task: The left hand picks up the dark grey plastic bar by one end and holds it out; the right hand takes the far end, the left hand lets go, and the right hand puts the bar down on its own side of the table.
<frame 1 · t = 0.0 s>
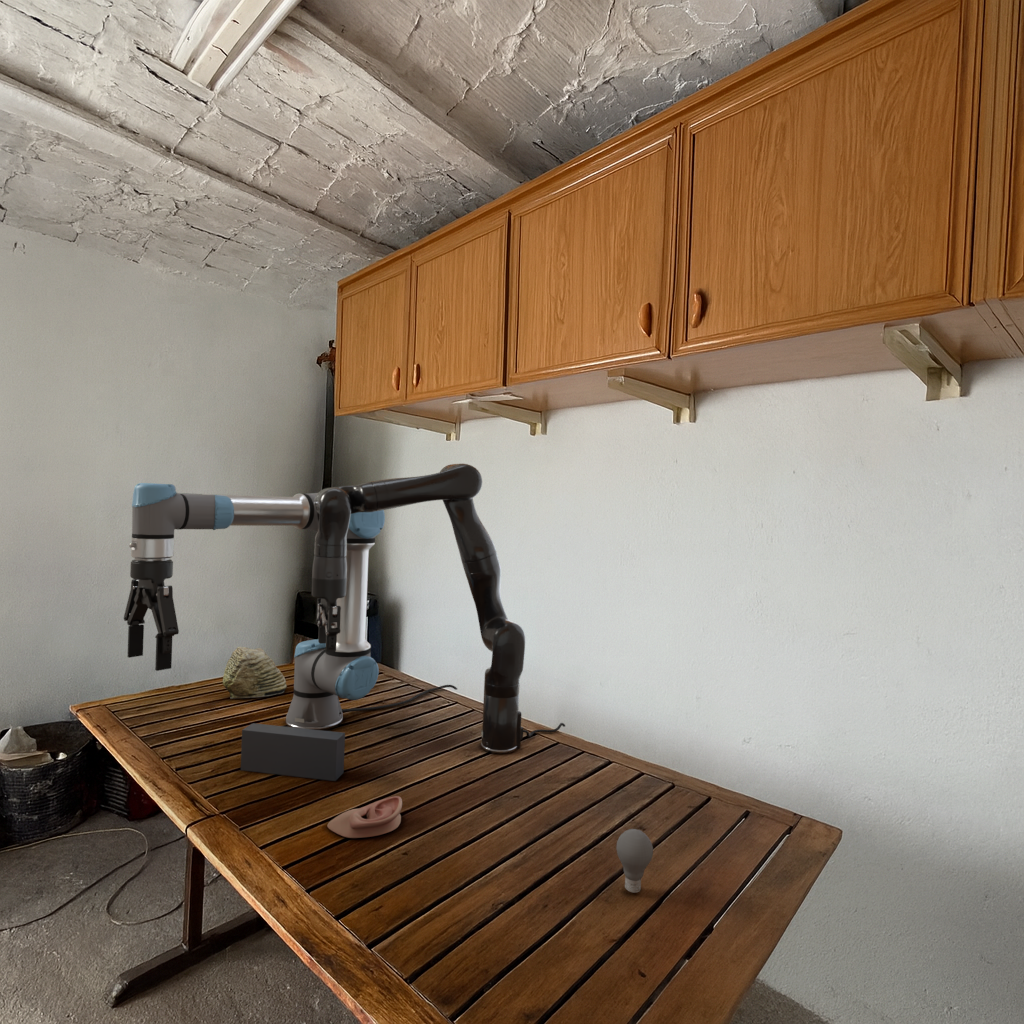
left hand: (148, 662, 129), 28 cm above the table, tool pointing down, fingers open, 13 cm apart
right hand: (326, 647, 143), 29 cm above the table, tool pointing down, fingers open, 8 cm apart
fossil: (254, 694, 198), on the table
bar: (292, 771, 145), on the table
light bulb: (632, 891, 106), on the table
anatomical model: (365, 824, 123), on the table
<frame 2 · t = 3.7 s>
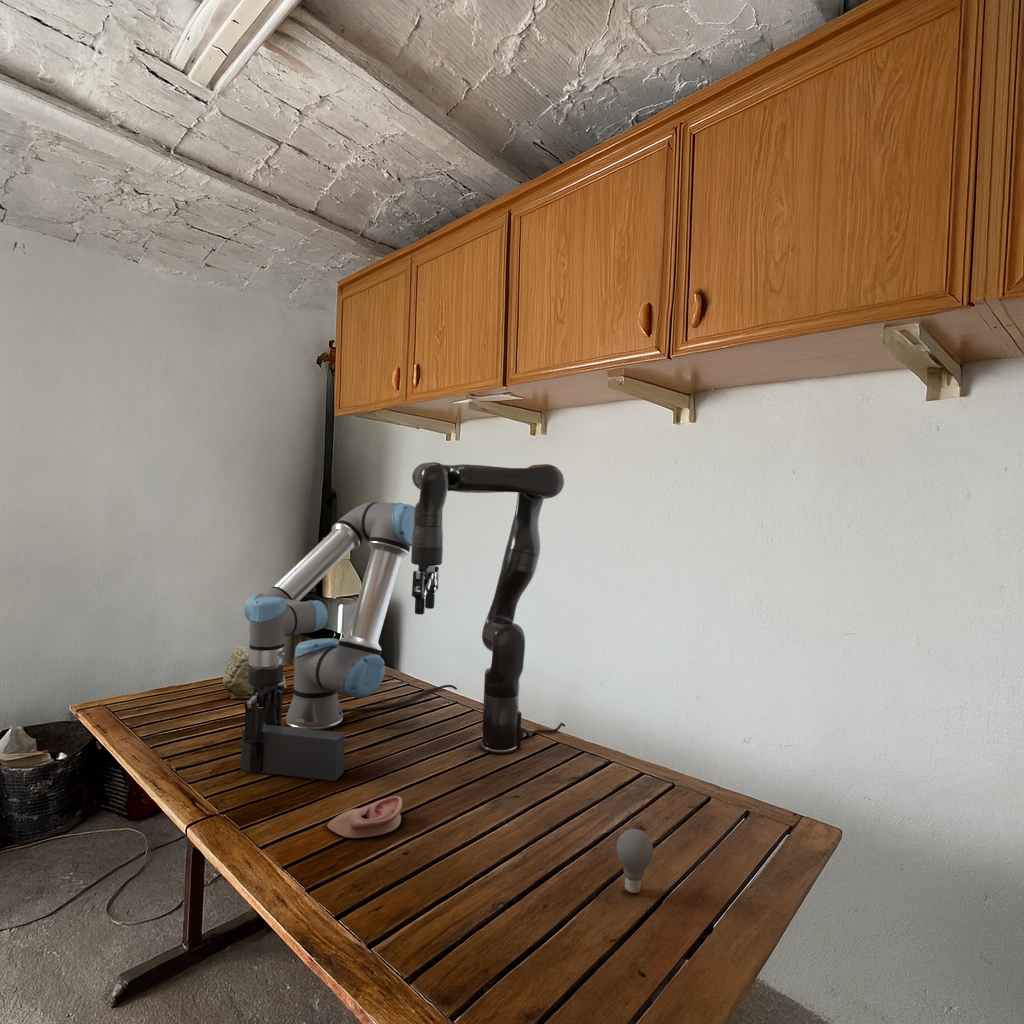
left hand: (262, 765, 146), 1 cm above the table, tool pointing down, fingers closed on bar, 4 cm apart
right hand: (424, 611, 154), 36 cm above the table, tool pointing down, fingers open, 8 cm apart
bar: (292, 771, 145), on the table, touching left hand
everything else where it was.
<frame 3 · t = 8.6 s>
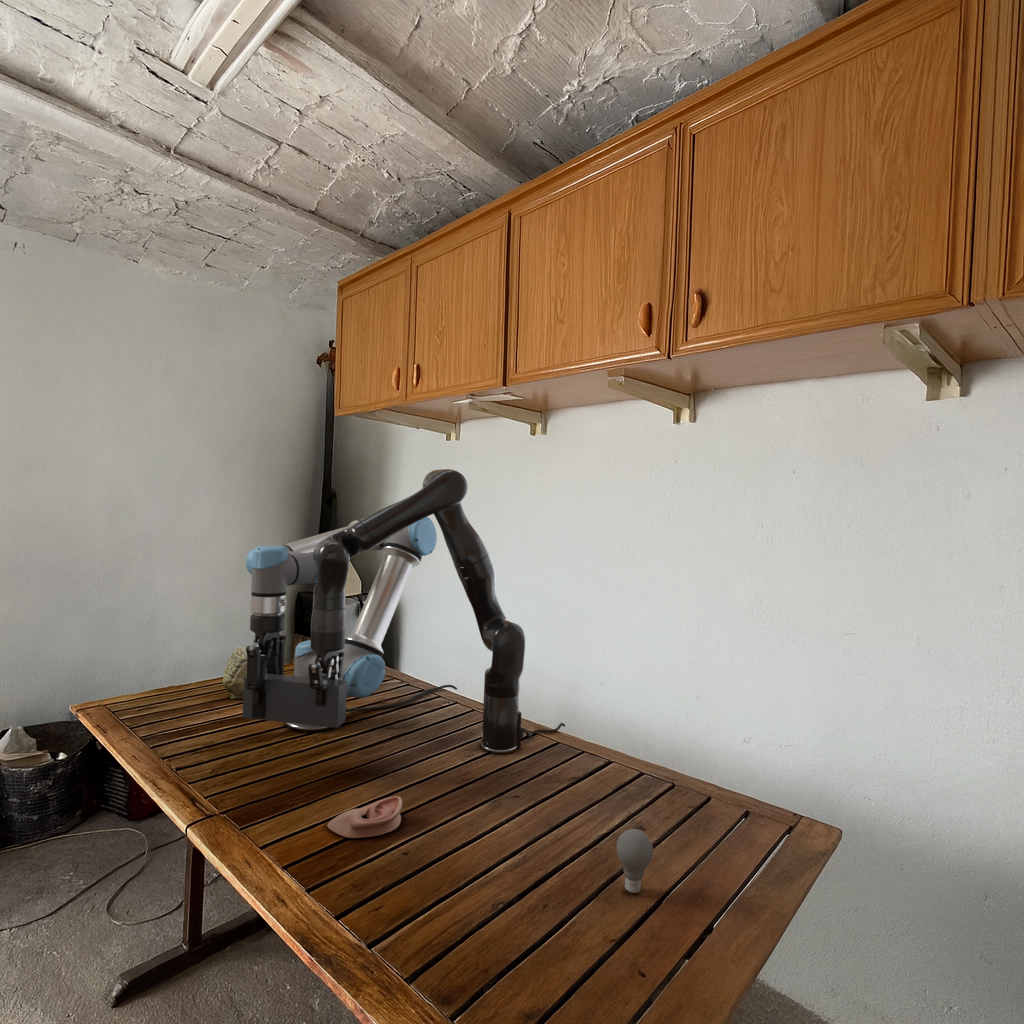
left hand: (264, 713, 146), 13 cm above the table, tool pointing down, fingers closed on bar, 4 cm apart
right hand: (325, 702, 144), 17 cm above the table, tool pointing down, fingers closed on bar, 4 cm apart
bar: (294, 719, 145), point 12 cm above the table, touching left hand, right hand
everything else where it was.
when the left hand's fingers open (13 cm above the table, at t = 9.4 s): bar stays where it is, held by the right hand.
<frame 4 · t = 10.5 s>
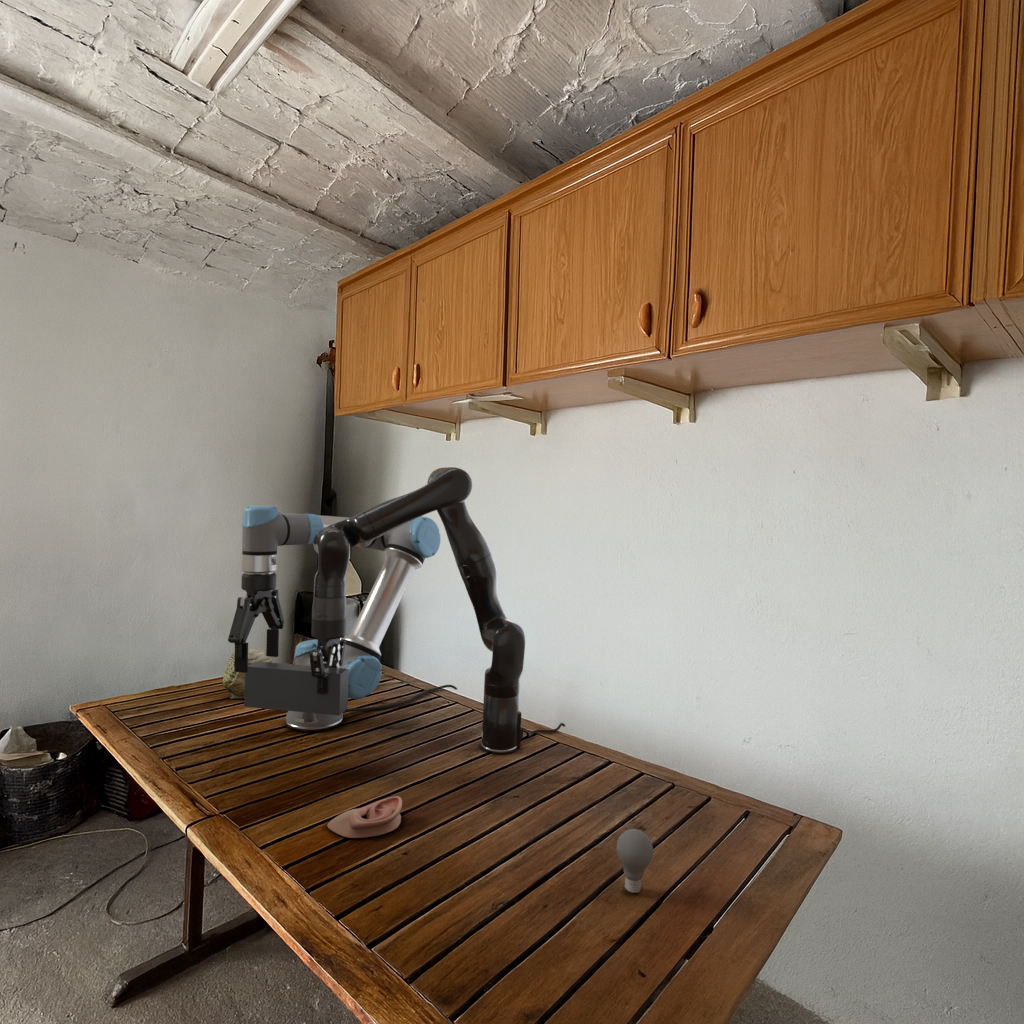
left hand: (257, 663, 147), 24 cm above the table, tool pointing down, fingers open, 13 cm apart
right hand: (327, 690, 144), 19 cm above the table, tool pointing down, fingers closed on bar, 4 cm apart
bar: (295, 707, 145), point 15 cm above the table, touching right hand
everything else where it was.
when the right hand's fingers open (6 cm above the table, at t = 18.3 s): bar drops 2 cm, on the table.
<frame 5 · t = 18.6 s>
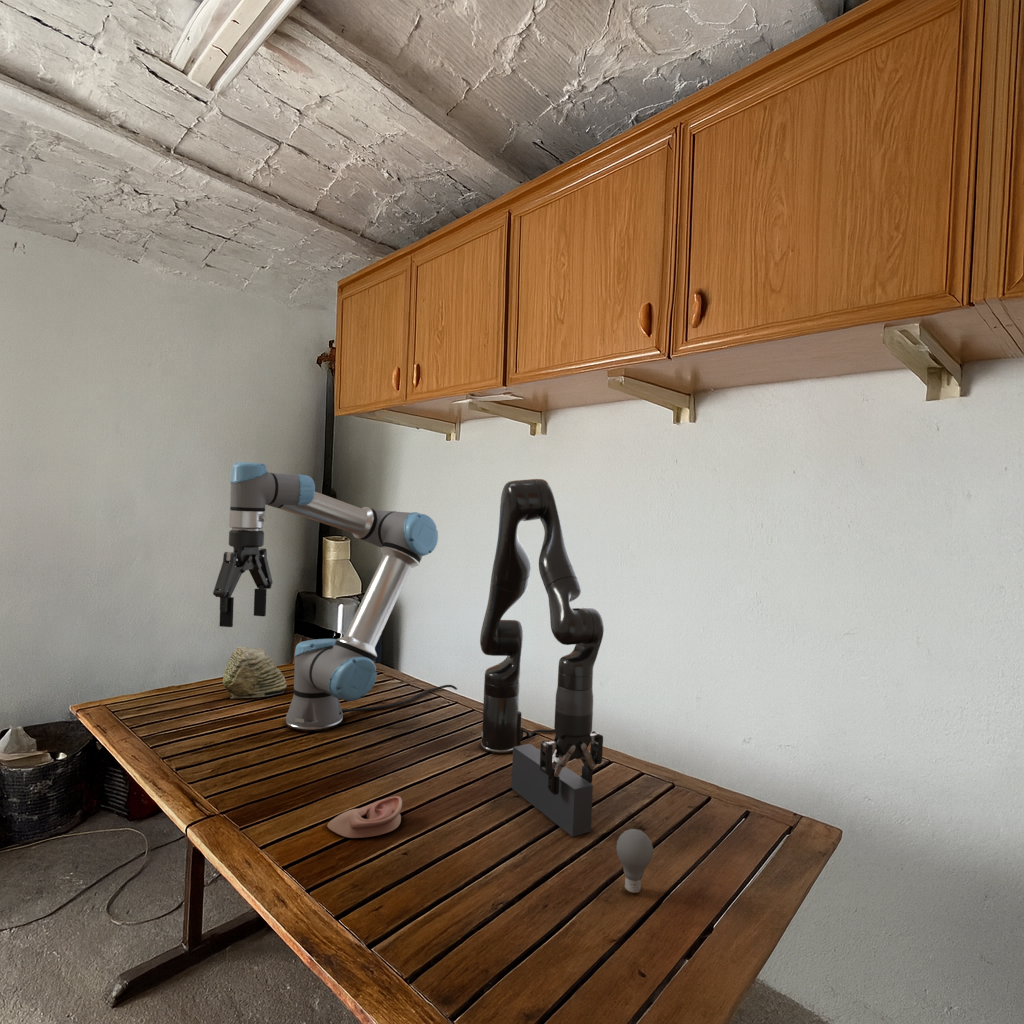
left hand: (243, 621, 147), 34 cm above the table, tool pointing down, fingers open, 13 cm apart
right hand: (570, 789, 127), 7 cm above the table, tool pointing down, fingers open, 7 cm apart
bar: (548, 808, 133), on the table
everything else where it was.
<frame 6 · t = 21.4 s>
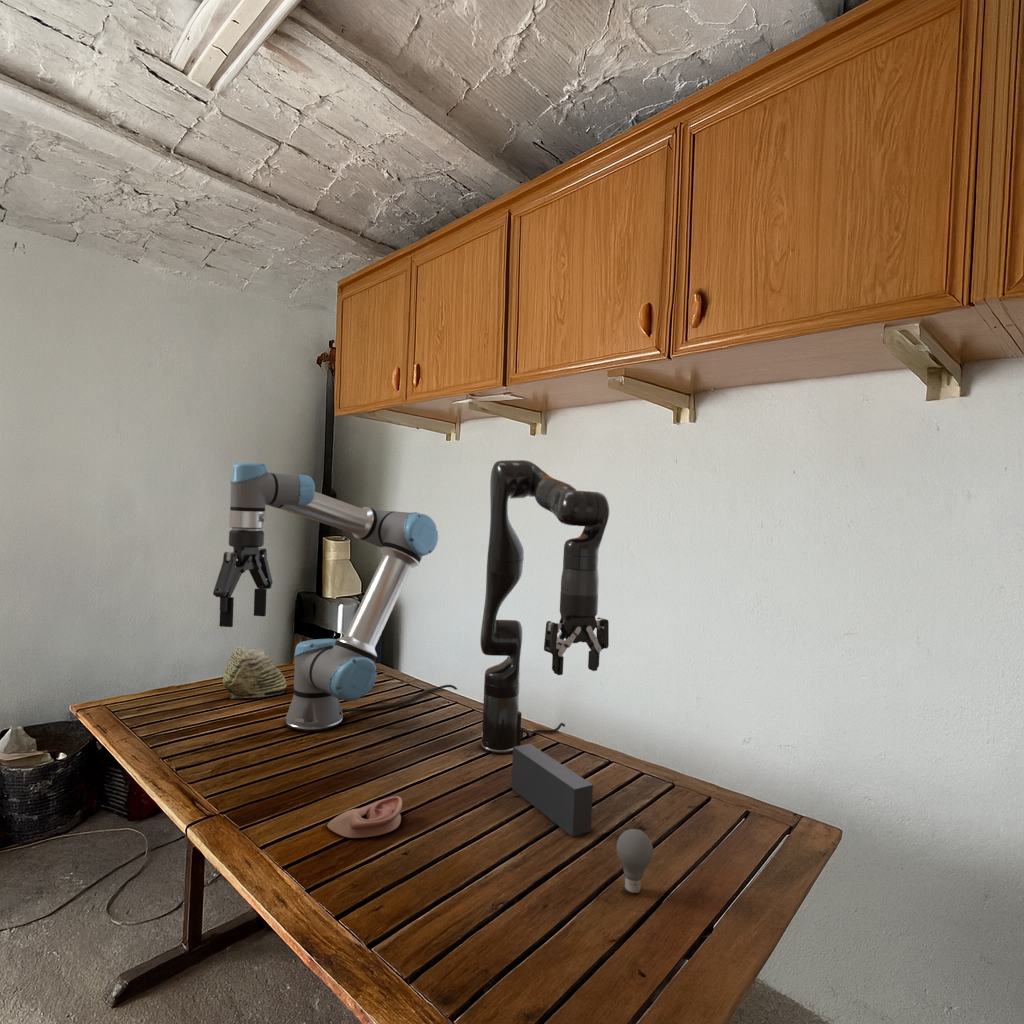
left hand: (243, 621, 147), 34 cm above the table, tool pointing down, fingers open, 13 cm apart
right hand: (575, 672, 126), 31 cm above the table, tool pointing down, fingers open, 8 cm apart
nothing on the table moved.
at the end: bar inside the target area (7.3 cm from its centre), on the table; the left hand is holding nothing; the right hand is holding nothing; bar at rest at the end (0.0 cm/s) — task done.
